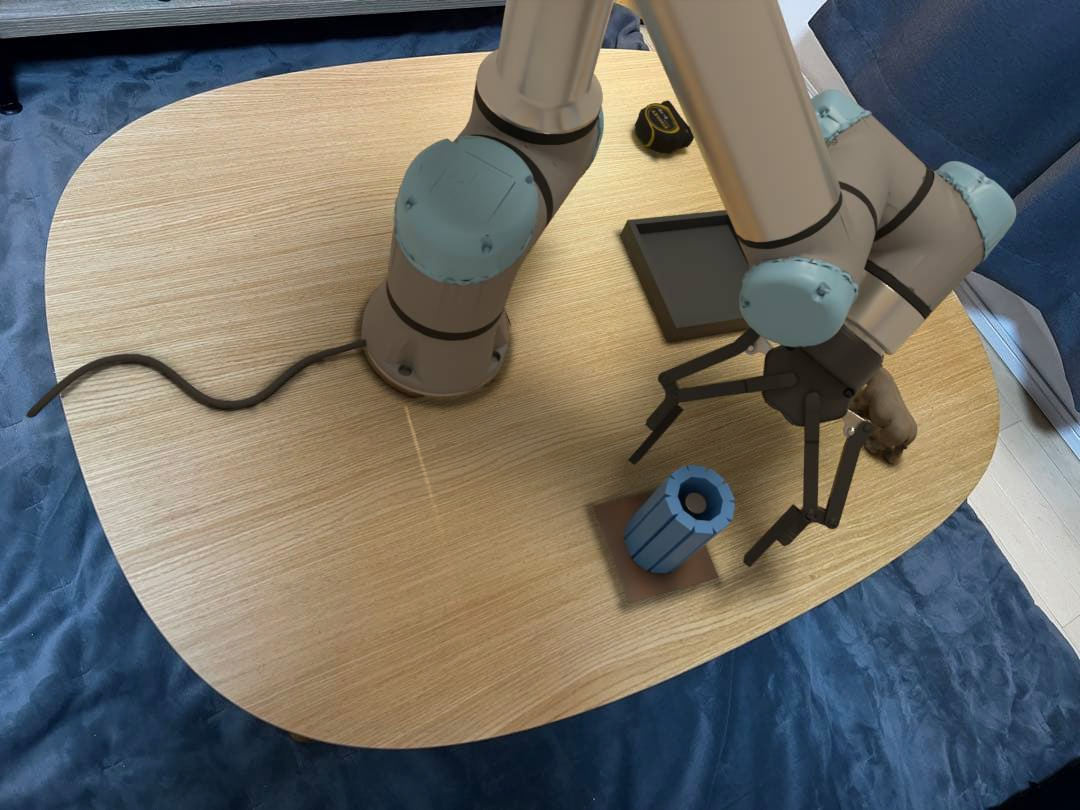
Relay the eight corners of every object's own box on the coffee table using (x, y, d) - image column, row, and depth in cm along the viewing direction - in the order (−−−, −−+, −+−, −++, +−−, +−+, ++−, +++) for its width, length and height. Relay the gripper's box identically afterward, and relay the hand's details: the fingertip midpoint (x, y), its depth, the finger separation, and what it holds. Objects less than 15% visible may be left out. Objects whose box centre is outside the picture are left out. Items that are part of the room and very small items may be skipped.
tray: (667, 342, 97) (676, 328, 94) (619, 234, 103) (627, 219, 100) (779, 323, 102) (790, 310, 100) (727, 223, 108) (737, 208, 106)
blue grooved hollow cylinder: (639, 581, 80) (683, 541, 71) (615, 517, 83) (654, 471, 74) (696, 565, 83) (746, 525, 73) (671, 504, 85) (716, 457, 76)
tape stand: (625, 606, 80) (667, 569, 71) (589, 509, 84) (625, 463, 75) (714, 580, 84) (766, 542, 74) (676, 489, 88) (721, 442, 78)
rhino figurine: (857, 359, 102) (886, 332, 97) (901, 463, 96) (934, 439, 91) (828, 361, 101) (856, 334, 96) (871, 466, 95) (903, 442, 90)
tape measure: (688, 153, 113) (700, 132, 110) (647, 163, 110) (658, 141, 107) (663, 117, 115) (673, 95, 112) (621, 125, 112) (631, 103, 109)
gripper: (963, 424, 74) (796, 593, 79) (742, 245, 78) (597, 416, 83) (981, 433, 67) (796, 618, 72) (737, 236, 71) (578, 424, 76)
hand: (689, 510), depth 78 cm, fingers open, 13 cm apart
